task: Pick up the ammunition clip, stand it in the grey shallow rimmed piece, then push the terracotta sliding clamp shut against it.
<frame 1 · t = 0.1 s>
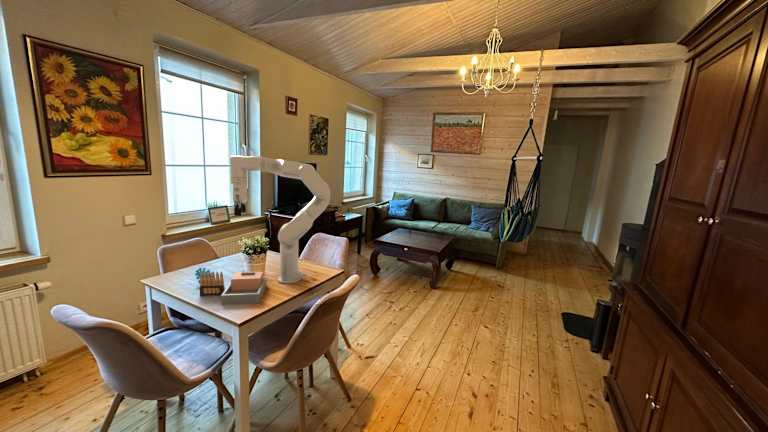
hand: (240, 213, 157), 37 cm above the table, tool pointing down, fingers open, 9 cm apart
slider: (247, 280, 153), point 5 cm above the table, slide at 6.0 cm
grey shallow rimmed piece: (242, 300, 142), on the table
gear: (206, 282, 160), on the table
ammunition clip: (212, 295, 147), on the table
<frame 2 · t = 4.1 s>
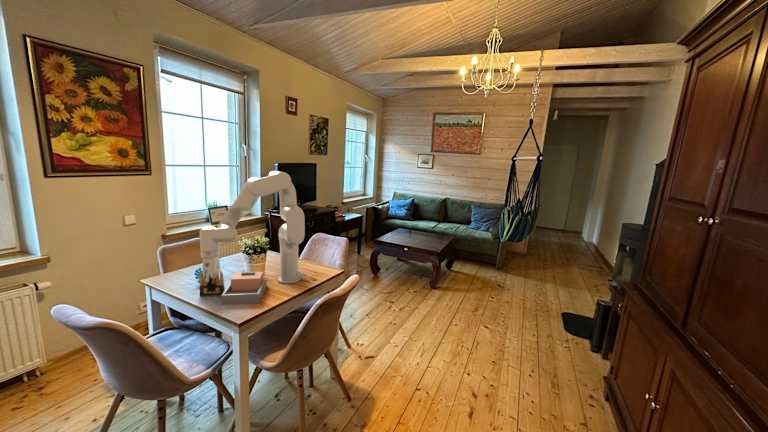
hand: (212, 289, 146), 3 cm above the table, tool pointing down, fingers closed on ammunition clip, 2 cm apart
ammunition clip: (212, 295, 147), on the table, touching gripper
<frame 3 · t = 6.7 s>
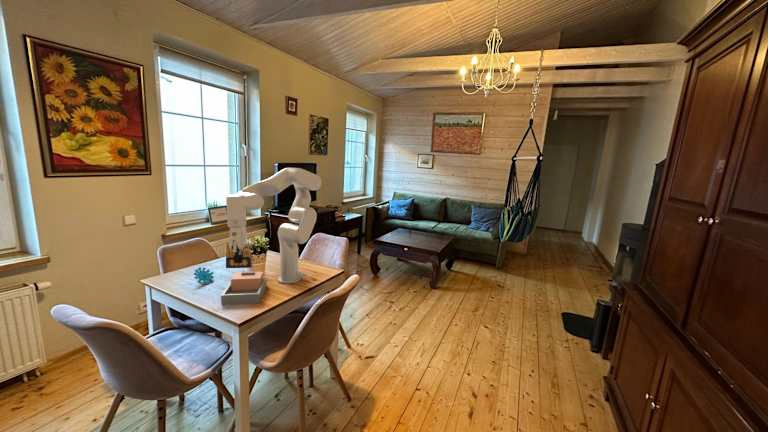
hand: (239, 261, 139), 19 cm above the table, tool pointing down, fingers closed on ammunition clip
ammunition clip: (239, 267, 140), point 16 cm above the table, touching gripper
everything else where it was.
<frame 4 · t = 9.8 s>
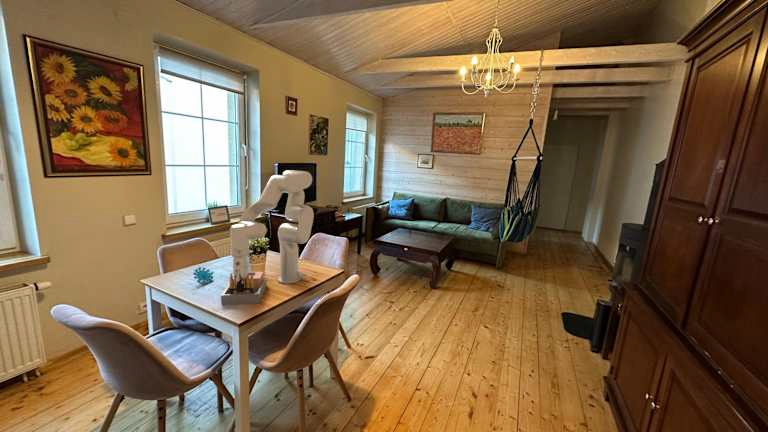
hand: (241, 289, 141), 6 cm above the table, tool pointing down, fingers open, 3 cm apart
ammunition clip: (242, 298, 142), point 1 cm above the table, touching grey shallow rimmed piece
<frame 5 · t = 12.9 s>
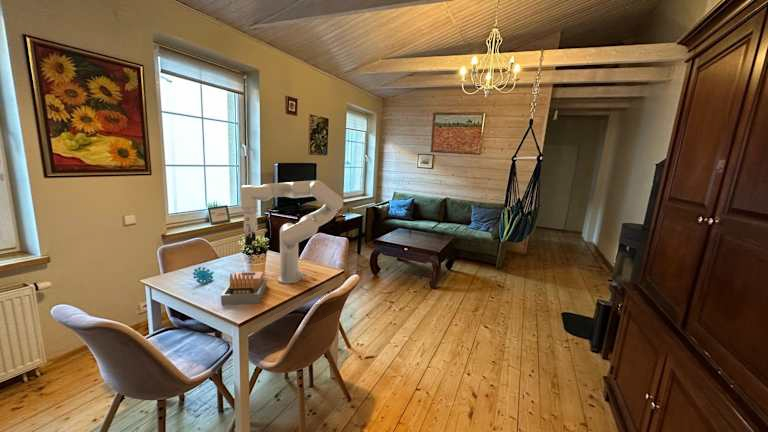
hand: (250, 242, 159), 22 cm above the table, tool pointing down, fingers open, 7 cm apart
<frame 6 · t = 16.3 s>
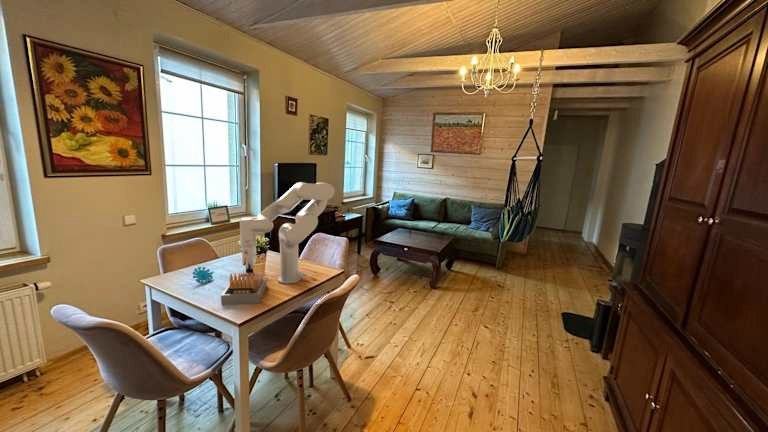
hand: (249, 276, 158), 5 cm above the table, tool pointing down, fingers closed
slider: (246, 281, 151), point 5 cm above the table, slide at 4.3 cm, touching gripper
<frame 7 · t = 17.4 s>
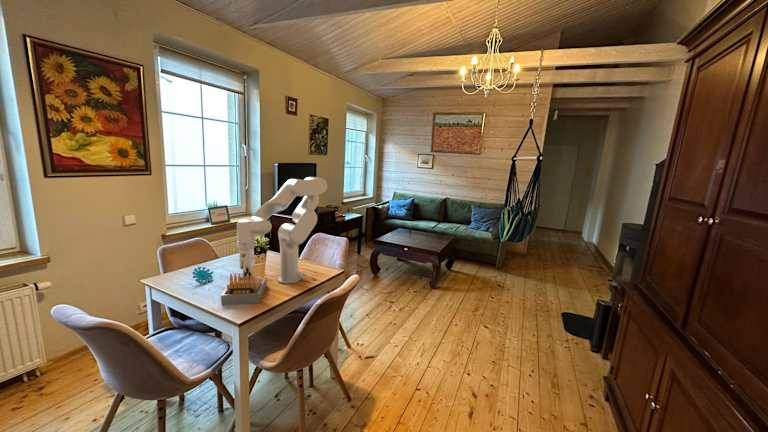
hand: (247, 280, 153), 5 cm above the table, tool pointing down, fingers closed
slider: (244, 285, 147), point 5 cm above the table, slide at -0.6 cm, touching gripper
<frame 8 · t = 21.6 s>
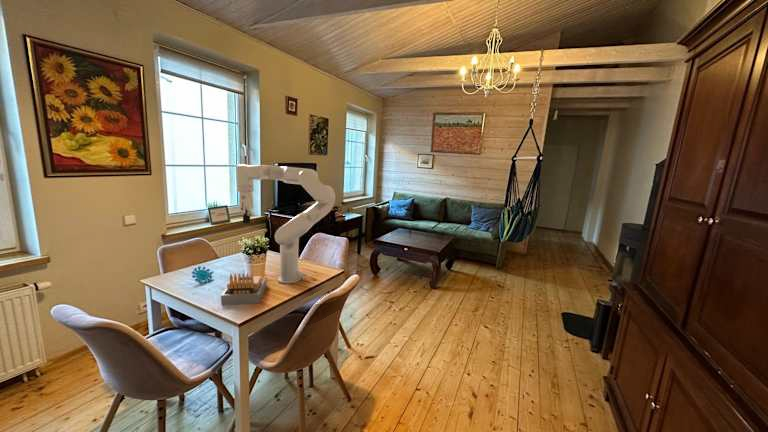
hand: (246, 222, 163), 31 cm above the table, tool pointing down, fingers closed
slider: (244, 284, 147), point 5 cm above the table, slide at 0.0 cm
at the end: ammunition clip 0.1 cm off-centre on the grey shallow rimmed piece, point 1.3 cm above the grey shallow rimmed piece's base; ammunition clip tilted 0°; slider slide at 0.0 cm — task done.
